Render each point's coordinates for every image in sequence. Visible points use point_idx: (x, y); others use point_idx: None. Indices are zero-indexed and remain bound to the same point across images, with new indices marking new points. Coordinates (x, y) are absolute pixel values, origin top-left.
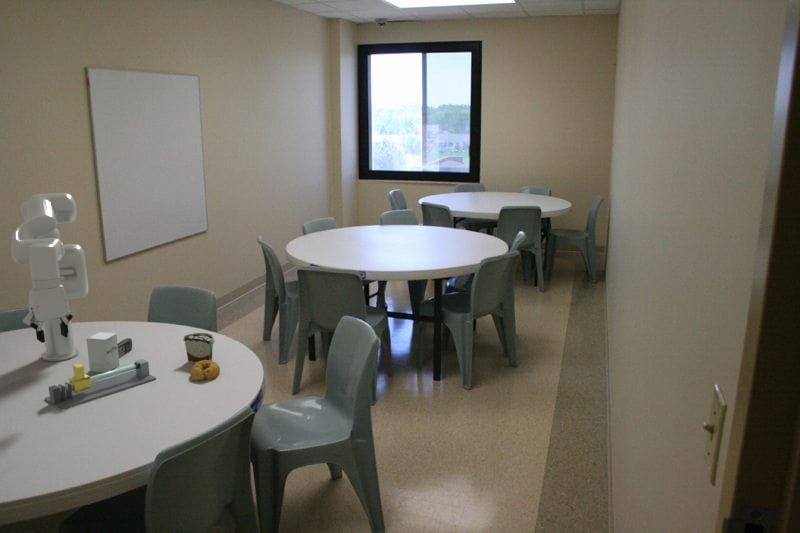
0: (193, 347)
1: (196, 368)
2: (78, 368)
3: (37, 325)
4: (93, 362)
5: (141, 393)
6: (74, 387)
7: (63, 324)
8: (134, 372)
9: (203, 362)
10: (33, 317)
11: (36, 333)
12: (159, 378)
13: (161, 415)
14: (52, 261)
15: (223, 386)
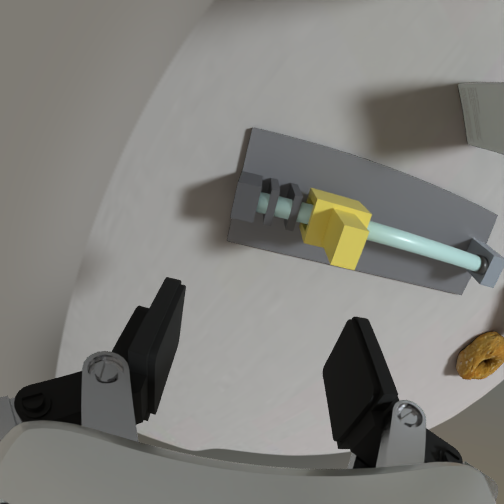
0: None
1: (479, 361)
2: (333, 264)
3: (113, 402)
4: (478, 101)
5: (387, 325)
6: (302, 228)
7: (350, 438)
8: (480, 223)
9: (498, 358)
10: (48, 444)
11: (120, 341)
12: (464, 294)
13: (310, 410)
14: None
15: (437, 400)
